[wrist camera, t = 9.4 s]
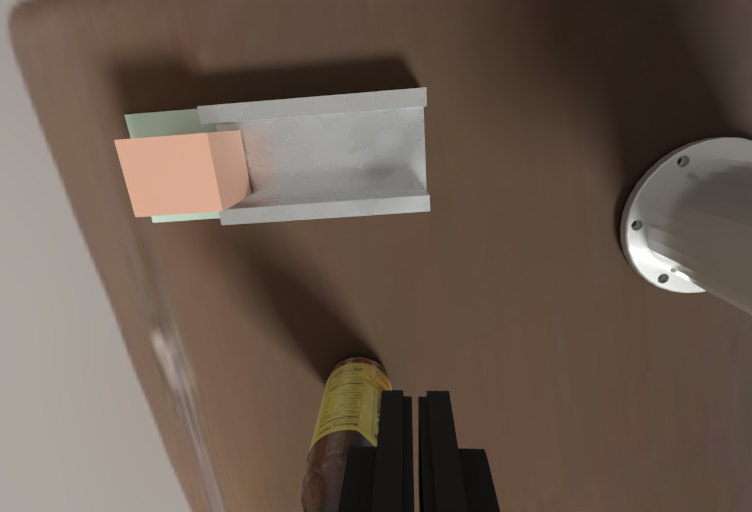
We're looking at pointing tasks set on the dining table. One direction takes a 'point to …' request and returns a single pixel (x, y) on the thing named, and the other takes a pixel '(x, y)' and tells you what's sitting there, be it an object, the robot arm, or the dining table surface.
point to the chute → (328, 155)
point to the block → (184, 172)
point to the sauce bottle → (342, 429)
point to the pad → (168, 126)
